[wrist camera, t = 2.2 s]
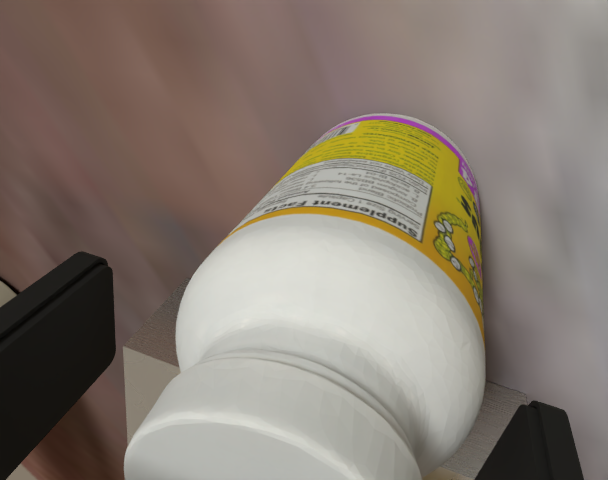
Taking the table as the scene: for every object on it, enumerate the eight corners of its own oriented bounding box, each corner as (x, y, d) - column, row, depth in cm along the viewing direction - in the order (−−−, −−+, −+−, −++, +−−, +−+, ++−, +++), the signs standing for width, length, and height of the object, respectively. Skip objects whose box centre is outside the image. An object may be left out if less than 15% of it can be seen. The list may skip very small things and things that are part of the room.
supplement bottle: (450, 290, 19) (420, 704, 8) (293, 248, 20) (91, 558, 10) (507, 127, 15) (583, 480, 5) (313, 89, 17) (30, 298, 6)
